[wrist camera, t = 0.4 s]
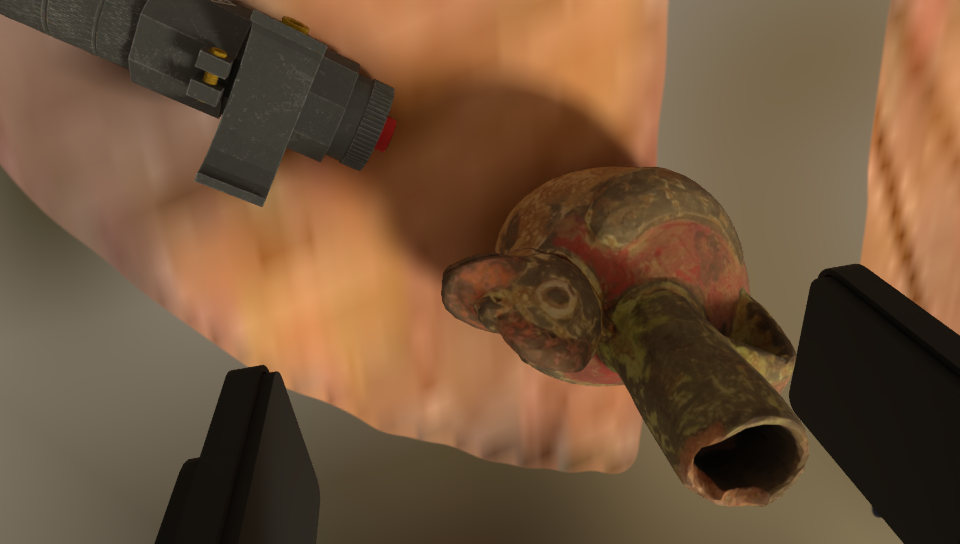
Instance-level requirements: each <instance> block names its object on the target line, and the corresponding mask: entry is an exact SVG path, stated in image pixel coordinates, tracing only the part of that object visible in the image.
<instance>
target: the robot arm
mask: <svg viewBox="0 0 960 544" xmlns="http://www.w3.org/2000/svg"><path fill="white" fill-rule="evenodd" d="M789 399H790V403H791V406H792V409H793V411H794V412H795V414H796V415H797V416H798V417H799V419H800V420H801V421H802V422H803V423H804V424H805V426H806V427H807V428H808V429H809V431H810V432H811V433H812V434H813V435H814V436H815V438H816V439H817V440H818V441H819V442H820V444H821V445H822V446H823V447H824V448H825V450H826V451H827V452H828V453H829V454H830V456H832V458H833V459H834V460H835V461H836V463H837V464H838V465H839V466H840V468H841V469H842V470H843V471H844V472H845V474H846V475H847V476H848V477H849V478H850V479H851V481H852V482H853V483H854V484H855V486H856V487H857V488H858V489H859V490H860V492H861V493H862V494H863V495H864V496H865V498H866V499H867V500H868V501H869V502H870V504H871V505H872V506H873V507H874V508H875V510H876V511H877V512H878V513H879V514H880V516H881V517H882V518H883V519H884V520H885V522H886V523H887V524H888V525H889V526H890V528H891V529H892V530H893V531H894V532H895V534H896V535H897V536H898V537H899V538H900V539H901V540H902V542H903V543H904V544H960V335H958V334H957V333H955V332H954V331H953V330H951V329H950V328H949V327H947V326H946V325H944V324H943V323H942V322H940V321H939V320H938V319H936V318H935V317H933V316H932V315H931V314H929V313H928V312H927V311H925V310H924V309H922V308H921V307H920V306H918V305H917V304H916V303H914V302H913V301H911V300H910V299H909V298H907V297H906V296H905V295H903V294H902V293H900V292H899V291H898V290H896V289H895V288H894V287H892V286H891V285H889V284H888V283H887V282H885V281H884V280H883V279H881V278H880V277H878V276H877V275H876V274H874V273H873V272H872V271H870V270H869V269H867V268H866V267H865V266H863V265H861V264H851V265H845V266H839V267H834V268H828V269H825V270H823V271H822V272H821V273H820V274H819V276H818V279H815V280H814V281H813V282H812V283H811V286H810V290H809V295H808V301H807V305H806V311H805V315H804V321H803V326H802V331H801V336H800V341H799V346H798V351H797V356H796V361H795V366H794V371H793V376H792V381H791V386H790V391H789ZM319 506H320V492H319V485H318V480H317V477H316V475H315V471H314V468H313V466H312V463H311V460H310V457H309V454H308V452H307V448H306V445H305V443H304V440H303V437H302V434H301V431H300V428H299V425H298V422H297V419H296V417H295V414H294V411H293V408H292V405H291V402H290V399H289V396H288V394H287V391H286V388H285V385H284V382H283V379H282V377H281V374H280V373H279V372H277V371H276V372H271V373H269V370H268V368H267V367H266V366H264V365H260V366H254V367H248V368H243V369H237V370H231V371H229V372H228V373H227V375H226V378H225V381H224V384H223V387H222V390H221V394H220V397H219V399H218V403H217V406H216V409H215V412H214V415H213V418H212V421H211V424H210V428H209V431H208V434H207V437H206V440H205V443H204V446H203V449H202V452H201V455H200V457H199V458H193V459H188V461H186V462H185V463H184V464H183V466H182V468H181V470H180V472H179V475H178V478H177V481H176V484H175V487H174V489H173V492H172V495H171V498H170V501H169V504H168V507H167V510H166V512H165V515H164V518H163V521H162V524H161V527H160V529H159V533H158V535H157V538H156V541H155V544H316V539H317V528H318V527H317V526H318V517H319Z"/></svg>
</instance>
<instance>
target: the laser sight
mask: <svg viewBox="0 0 960 544" xmlns="http://www.w3.org/2000/svg"><path fill="white" fill-rule="evenodd" d="M0 14H2V15H4V16H6V17H8V18H10V19H12V20H15V21H18V22H20V23H23V24H25V25H27V26H30V27H32V28H34V29H36V30H39V31H41V32H43V33H45V34H47V35H49V36H53V37H54V38H56V39H59V40H61V41H64V42H66V43H69V44H71V45H74V46H76V47H78V48H81V49H83V50H85V51H87V52H89V53H91V54H94V55H96V56H99V57H100V58H103V59H105V60H108V61H110V62H113V63H115V64H118V65H120V66H122V67H125V68H127V69H129V70H130V78H131V82H134V83H136V84H138V85H141V86H143V87H145V88H148V89H150V90H152V91H155V92H157V93H159V94H162V95H164V96H166V97H169V98H171V99H173V100H176V101H178V102H181V103H183V104H185V105H188V106H190V107H192V108H195V109H197V110H199V111H202V112H204V113H206V114H209V115H211V116H213V117H216V118H218V119H219V117H220V116H221V115H222V118H221V121H220V123H219V126H218V129H217V131H216V133H215V136H214V138H213V141H212V143H211V146H210V148H209V150H208V153H207V155H206V157H205V159H204V161H203V163H202V165H201V167H200V169H199V171H198V172H197V174H196V177H195V180H194V181H196V182H198V183H201V184H204V185H206V186H209V187H211V188H214V189H216V190H219V191H222V192H224V193H227V194H229V195H232V196H235V197H237V198H240V199H242V200H245V201H248V202H250V203H253V204H255V205H258V206H260V207H263V205H264V203H265V200H266V198H267V195H268V192H269V190H270V187H271V185H272V182H273V180H274V177H275V175H276V172H277V170H278V167H279V165H280V162H281V160H282V157H283V154H284V152H285V149H286V148H289V149H291V150H293V151H296V152H298V153H300V154H303V155H305V156H307V157H310V158H312V159H314V160H317V161H319V162H321V161H322V159H323V157H324V156H325V154H326V155H328V156H330V157H333V158H335V159H337V160H339V161H340V163H342V164H344V165H346V166H349V167H351V168H353V169H356V170H358V171H360V170H362V169H363V167H364V166H365V164H366V163H367V161H368V159H369V157H370V156H371V154H372V152H373V150H374V148H375V149H377V150H379V151H381V152H384V151H385V150H386V148H387V146H388V144H389V142H390V140H391V138H392V135H393V133H394V130H395V127H396V123H397V121H396V120H394V119H392V118H390V117H388V114H389V111H390V108H391V105H392V101H393V97H394V91H395V90H394V88H392V87H390V86H388V85H386V84H384V83H382V82H380V81H378V80H376V79H374V80H372V79H369V78H367V77H365V76H363V75H360V74H359V67H360V65H359V64H357V63H355V62H353V61H351V60H349V59H347V58H345V57H343V56H341V55H339V54H337V53H335V52H333V51H331V50H329V49H327V45H325V44H323V43H321V42H319V41H317V40H315V39H313V38H311V37H309V36H307V34H308V32H309V28H308V27H307V26H305V25H304V24H302V23H300V22H298V21H296V20H294V19H292V18H289V17H285V16H284V17H283V18H282V21H281V22H279V21H277V20H275V19H273V18H271V17H269V16H267V15H265V14H263V13H261V12H259V11H257V10H255V9H253V12H252V11H250V10H248V9H246V8H244V7H242V6H240V5H238V4H236V3H234V2H232V1H230V0H0Z"/></svg>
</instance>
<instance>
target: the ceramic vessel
mask: <svg viewBox="0 0 960 544" xmlns="http://www.w3.org/2000/svg"><path fill="white" fill-rule="evenodd" d="M441 296H442V302H443V304H444V306H445V309H446V310H447V311H449V312H450V313H451V314H452V315H453V316H454V317H455V318H457V319H459V320H461V321H463V322H465V323H467V324H469V325H471V326H473V327H475V328H478V329H482V330H485V331H488V332H493V333H498V334H501V335H502V337H503V339H504V340H505V342H506V343H507V344H508V345H509V346H510V347H511V348H512V349H513V350H514V351H515V352H516V353H517V354H518V355H519V357H520V358H521V360H522V361H523V362H525V363H527V364H529V365H531V366H532V367H534V368H535V369H537V370H538V371H540V372H542V373H544V374H546V375H548V376H551V377H553V378H556V379H559V380H562V381H565V382H569V383H573V384H580V385H587V386H616V385H625V386H626V388H627V390H628V391H629V393H630V395H631V397H632V399H633V401H634V403H635V405H636V407H637V409H638V411H639V413H640V414H641V416H642V418H643V420H644V421H645V423H646V425H647V426H648V428H649V430H650V431H651V433H652V434H653V436H654V438H655V440H656V441H657V443H658V445H659V446H660V448H661V450H662V451H663V453H664V454H665V456H666V458H667V459H668V461H669V463H670V464H671V466H672V468H673V469H674V471H675V473H676V474H677V476H678V477H679V479H680V480H681V482H682V483H683V484H684V485H685V486H686V487H687V488H688V489H690V490H692V491H693V492H695V493H697V494H699V495H701V496H703V497H704V498H706V499H708V500H709V501H711V502H713V503H715V504H717V505H722V506H728V507H729V506H761V507H762V506H767V505H769V504H770V503H772V502H774V501H775V500H776V499H778V498H779V497H781V496H783V494H784V493H785V491H786V490H787V489H789V488H790V487H791V486H792V485H793V484H794V483H795V482H796V481H797V480H798V479H799V477H800V476H801V474H802V473H803V471H804V468H805V464H806V462H807V459H808V457H809V453H808V452H809V449H808V439H807V435H806V431H805V428H804V426H803V425H802V423H801V421H800V420H799V419H798V417H797V416H796V415H795V413H794V412H793V411H792V410H791V408H790V407H789V406H788V404H787V403H786V402H785V401H784V399H783V398H782V397H781V395H780V394H781V393H782V391H783V389H784V388H785V386H786V384H787V382H788V380H789V378H790V376H791V374H792V371H793V369H794V366H795V361H796V352H795V350H794V347H793V346H792V344H791V342H790V340H789V339H788V338H787V336H786V335H785V333H784V332H783V330H782V329H781V327H780V326H779V325H778V324H777V322H776V321H775V320H774V319H773V318H772V316H771V315H770V314H769V313H768V312H767V310H766V309H765V308H764V307H763V306H762V305H760V304H759V303H758V302H756V301H755V300H754V299H753V298H752V297H751V296H750V288H749V279H748V274H747V269H746V265H745V262H744V257H743V251H742V247H741V243H740V240H739V238H738V235H737V232H736V230H735V227H734V226H733V224H732V222H731V220H730V218H729V216H728V215H727V213H726V212H725V210H724V209H723V207H722V206H721V205H720V203H719V202H718V201H717V200H716V199H715V198H714V197H713V196H712V195H711V194H710V193H709V192H707V191H706V190H705V189H704V188H702V187H701V186H700V185H699V184H697V183H696V182H694V181H693V180H691V179H689V178H688V177H686V176H684V175H681V174H679V173H676V172H673V171H671V170H668V169H665V168H660V167H642V168H636V167H620V166H608V167H596V168H589V169H583V170H579V171H575V172H571V173H568V174H565V175H562V176H559V177H557V178H554V179H552V180H550V181H548V182H546V183H544V184H543V185H541V186H540V187H538V188H537V189H535V190H534V191H532V192H531V193H529V194H528V195H526V196H525V197H524V198H523V199H522V200H521V201H520V202H519V203H518V204H517V205H516V206H515V207H514V208H513V210H512V211H511V212H510V213H509V215H508V217H507V219H506V220H505V222H504V224H503V226H502V228H501V229H500V231H499V235H498V239H497V242H496V248H495V252H491V253H485V254H477V255H474V256H472V257H468V258H465V259H463V260H460V261H458V262H457V263H455V264H452V265H450V266H449V267H448V268H447V269H446V270H445V271H444V273H443V280H442V291H441Z"/></svg>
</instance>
